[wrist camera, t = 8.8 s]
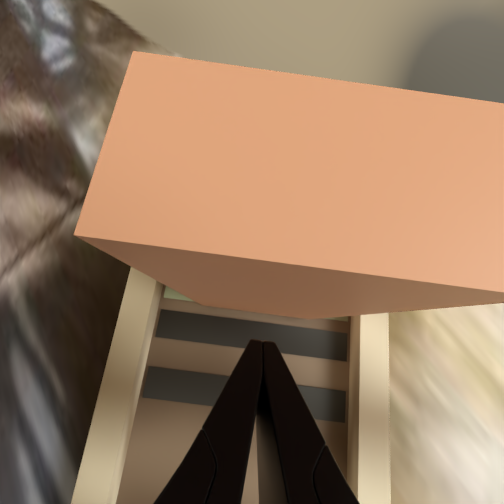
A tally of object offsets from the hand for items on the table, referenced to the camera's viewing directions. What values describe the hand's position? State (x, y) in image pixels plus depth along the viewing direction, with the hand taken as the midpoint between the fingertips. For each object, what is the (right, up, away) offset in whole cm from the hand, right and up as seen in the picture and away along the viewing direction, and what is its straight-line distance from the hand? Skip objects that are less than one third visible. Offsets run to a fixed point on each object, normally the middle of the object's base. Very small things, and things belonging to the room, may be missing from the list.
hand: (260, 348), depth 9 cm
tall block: (0, +1, +6) cm, 6 cm away
